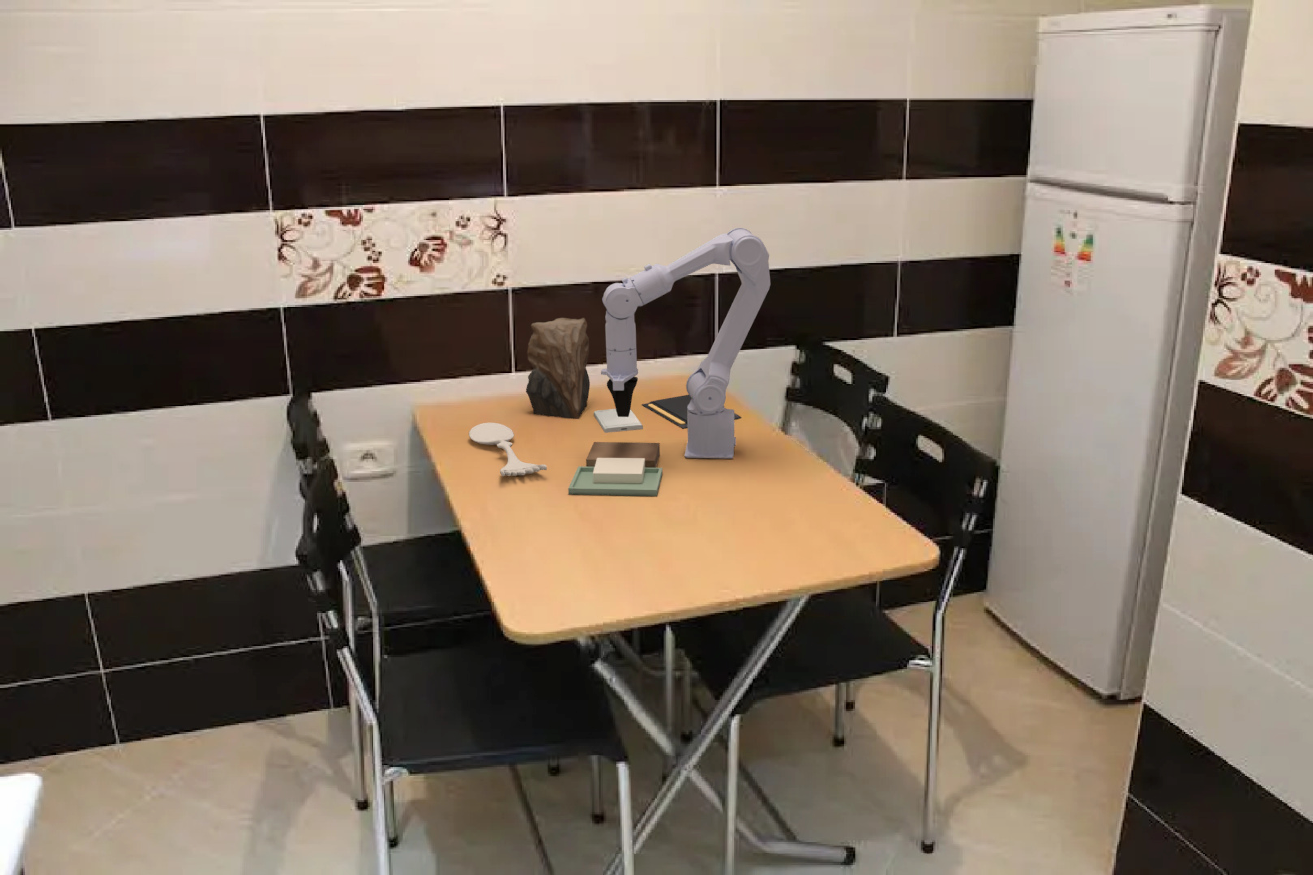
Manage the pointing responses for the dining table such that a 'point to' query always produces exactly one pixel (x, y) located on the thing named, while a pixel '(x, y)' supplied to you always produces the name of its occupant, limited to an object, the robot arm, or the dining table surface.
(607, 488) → the tray
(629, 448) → the deck
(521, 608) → the dining table surface
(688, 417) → the robot arm
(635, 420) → the hard drive
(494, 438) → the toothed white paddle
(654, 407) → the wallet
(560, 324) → the brown rock
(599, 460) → the tile
